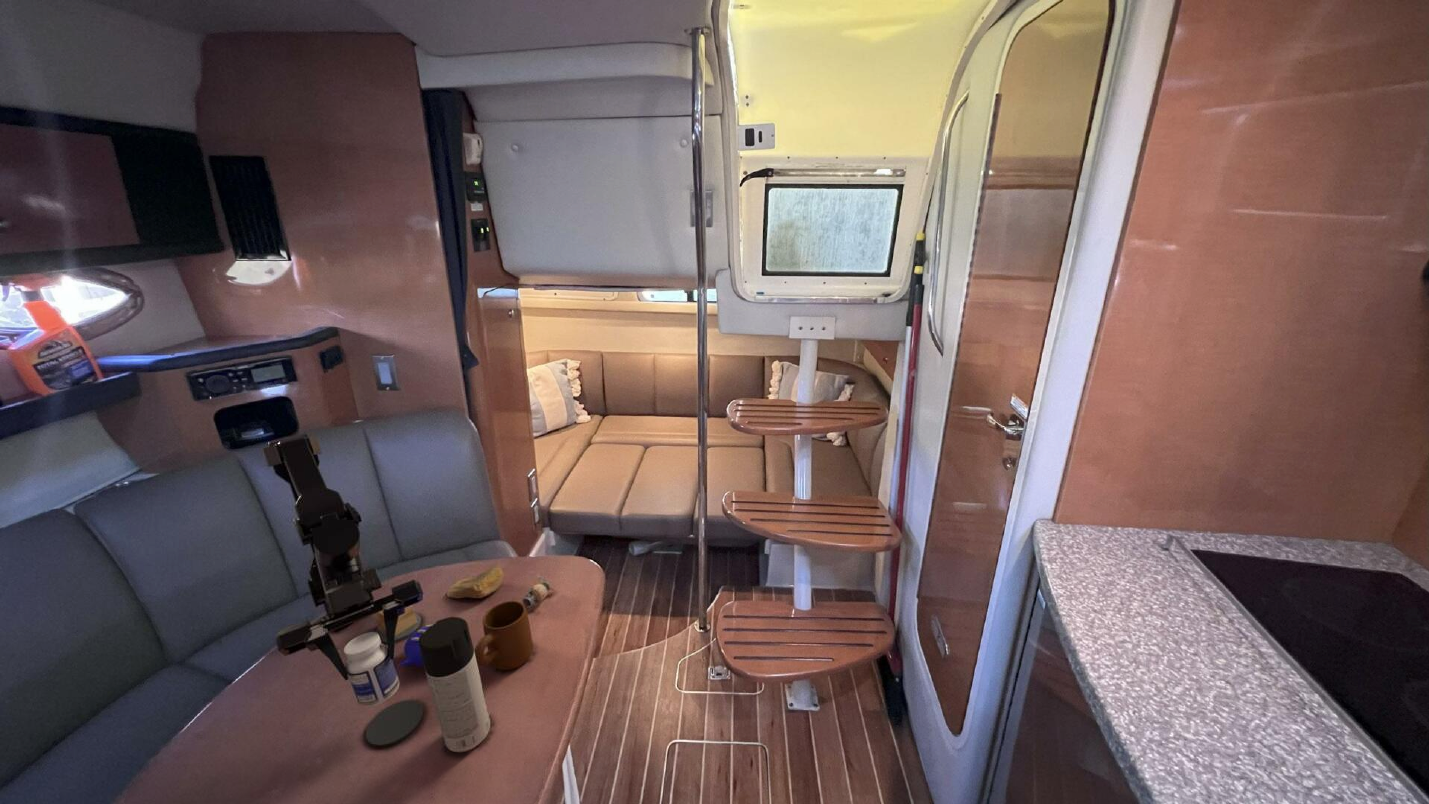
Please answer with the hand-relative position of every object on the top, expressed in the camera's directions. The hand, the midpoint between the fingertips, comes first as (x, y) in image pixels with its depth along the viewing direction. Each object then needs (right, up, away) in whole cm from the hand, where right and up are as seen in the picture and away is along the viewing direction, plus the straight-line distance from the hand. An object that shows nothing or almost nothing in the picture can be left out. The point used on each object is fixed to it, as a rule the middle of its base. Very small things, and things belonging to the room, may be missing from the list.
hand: (369, 669), depth 80 cm
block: (-11, -4, +26) cm, 28 cm away
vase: (+17, +3, +32) cm, 36 cm away
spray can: (+14, -12, +3) cm, 18 cm away
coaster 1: (-11, -5, +26) cm, 29 cm away
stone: (+5, +1, +33) cm, 34 cm away
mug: (+14, -7, +16) cm, 23 cm away
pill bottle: (-1, -6, +3) cm, 7 cm away
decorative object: (0, -7, +18) cm, 19 cm away
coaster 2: (+1, -11, +5) cm, 12 cm away
